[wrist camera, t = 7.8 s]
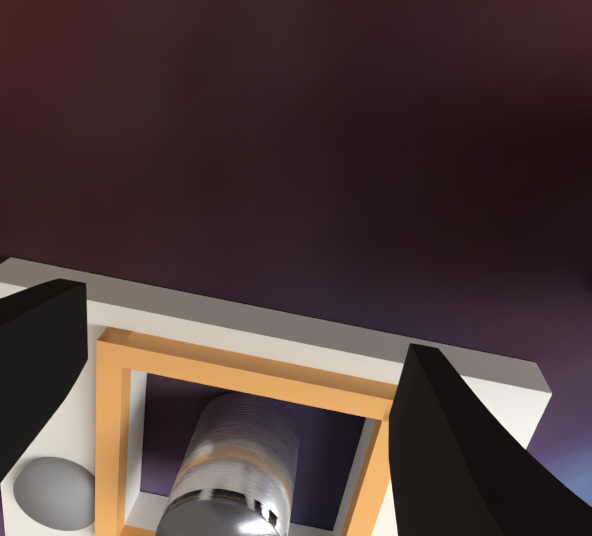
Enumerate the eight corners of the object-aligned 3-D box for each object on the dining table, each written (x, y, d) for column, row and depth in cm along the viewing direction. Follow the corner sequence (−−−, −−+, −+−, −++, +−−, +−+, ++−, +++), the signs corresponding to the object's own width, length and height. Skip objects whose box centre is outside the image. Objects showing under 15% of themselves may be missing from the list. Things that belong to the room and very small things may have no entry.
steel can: (298, 392, 24) (281, 505, 18) (302, 473, 26) (288, 597, 20) (192, 390, 24) (145, 499, 19) (204, 469, 26) (165, 589, 21)
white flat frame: (535, 362, 22) (561, 411, 19) (433, 593, 28) (441, 653, 26) (10, 257, 22) (-37, 290, 19) (28, 508, 29) (-7, 559, 26)
